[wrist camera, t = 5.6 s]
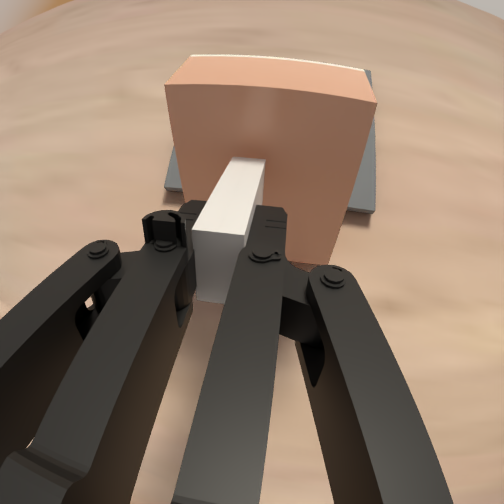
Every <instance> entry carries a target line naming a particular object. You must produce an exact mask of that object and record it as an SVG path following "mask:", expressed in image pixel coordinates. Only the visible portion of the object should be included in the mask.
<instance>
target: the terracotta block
mask: <svg viewBox="0 0 504 504" xmlns="http://www.w3.org/2000/svg"><path fill="white" fill-rule="evenodd" d="M164 86H165V92H166V99H167V105H168V111H169V118H170V124H171V130H172V135H173V141H174V147H175V152H176V158H177V163H178V169H179V174H180V179H181V185H182V190H183V195H184V200H185V203H187V202H188V201H190V200H201V201H208V199H209V197H210V195H211V194H212V192H213V190H214V188H215V187H216V185H217V183H218V181H219V180H220V178H221V176H222V174H223V173H224V171H225V169H226V168H227V166H228V164H229V162H230V161H231V159H232V157H245V158H257V159H266V161H265V175H264V188H263V202H262V205H264V206H273V207H282V208H283V209H284V210H285V212H286V213H287V214H288V217H287V231H286V246H285V256H286V258H287V260H288V261H293V262H301V263H310V264H318V265H328V263H329V260H330V257H331V254H332V251H333V248H334V246H335V243H336V240H337V237H338V234H339V231H340V228H341V225H342V222H343V219H344V216H345V213H346V210H347V207H348V203H349V200H350V197H351V194H352V191H353V188H354V184H355V181H356V178H357V174H358V171H359V168H360V164H361V161H362V157H363V154H364V151H365V147H366V143H367V140H368V136H369V133H370V129H371V125H372V121H373V118H374V114H375V110H376V106H377V101H376V98H375V96H374V93H373V91H372V88H371V86H370V83H369V81H368V78H367V76H366V74H365V71H364V70H363V69H358V68H353V67H347V66H342V65H336V64H329V63H323V62H316V61H308V60H300V59H290V58H280V57H267V56H250V55H191V56H190V57H189V58H188V59H187V60H186V61H185V62H184V63H183V64H182V65H181V67H180V68H179V69H178V70H177V71H176V72H175V73H174V74H173V75H172V76H171V78H170V79H169V80H168V81H167V82H166V83H165V84H164Z"/></svg>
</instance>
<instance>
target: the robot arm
mask: <svg viewBox="0 0 504 504" xmlns="http://www.w3.org/2000/svg"><path fill="white" fill-rule="evenodd" d="M265 161H266V159H257V158H245V157H232V159H231V161H230V162H229V164H228V166H227V168H226V169H225V171H224V173H223V174H222V176H221V178H220V180H219V181H218V183H217V185H216V187H215V188H214V190H213V192H212V194H211V195H210V197H209V199H208V201H201V200H190V201H188V202H187V203H185V204H183V205H182V206H181V208H180V209H179V211H173V210H161V211H156V212H152V213H150V214H148V215H146V216H145V217H144V218H143V219H142V223H143V230H144V237H145V244H144V246H143V247H142V249H141V250H140V251H133V252H122V253H120V250H119V247H118V245H117V243H115V242H113V241H110V240H97V241H95V242H92V243H90V244H88V245H86V246H85V247H83V248H82V249H81V250H80V251H78V252H77V253H76V254H75V255H73V256H72V257H71V258H70V259H68V260H67V261H66V262H65V263H64V264H62V265H61V266H60V267H59V268H58V269H56V270H55V271H54V272H53V273H52V274H50V275H49V276H48V277H47V278H46V279H45V280H43V281H42V282H41V283H40V284H39V285H38V286H37V287H35V288H34V289H33V290H32V291H31V292H30V293H29V294H28V295H26V296H25V297H24V298H23V299H22V300H21V301H20V302H19V303H18V304H17V305H15V306H14V307H13V308H12V309H11V310H10V311H9V312H8V313H7V314H6V315H5V316H4V317H3V318H2V319H1V320H0V504H130V500H131V496H132V493H133V490H134V486H135V483H136V480H137V476H138V473H139V470H140V466H141V463H142V460H143V457H144V453H145V450H146V447H147V444H148V441H149V438H150V435H151V431H152V428H153V425H154V422H155V419H156V416H157V413H158V410H159V407H160V404H161V401H162V398H163V395H164V392H165V389H166V386H167V383H168V380H169V377H170V374H171V371H172V368H173V365H174V362H175V359H176V357H177V354H178V351H179V348H180V345H181V342H182V339H183V337H184V334H185V331H186V328H187V325H188V322H189V320H190V317H191V314H192V310H193V303H192V297H193V294H194V292H195V289H196V298H197V300H199V301H206V302H213V303H220V304H225V305H224V308H223V312H222V315H221V319H220V323H219V326H218V330H217V334H216V337H215V341H214V344H213V348H212V352H211V356H210V359H209V363H208V367H207V370H206V374H205V378H204V381H203V385H202V389H201V393H200V396H199V400H198V404H197V408H196V411H195V415H194V419H193V423H192V426H191V430H190V434H189V438H188V442H187V445H186V449H185V453H184V457H183V461H182V465H181V468H180V472H179V476H178V480H177V484H176V488H175V492H174V495H173V499H172V502H171V504H259V500H260V493H261V486H262V478H263V471H264V463H265V456H266V448H267V440H268V432H269V423H270V415H271V406H272V397H273V388H274V379H275V369H276V360H277V350H278V339H279V334H280V335H283V336H285V337H288V338H290V339H293V340H295V346H296V350H297V353H298V357H299V361H300V365H301V369H302V373H303V377H304V381H305V385H306V389H307V393H308V397H309V401H310V405H311V409H312V413H313V417H314V421H315V425H316V429H317V433H318V437H319V441H320V445H321V449H322V454H323V458H324V462H325V466H326V470H327V475H328V479H329V483H330V487H331V491H332V496H333V500H334V504H453V501H452V498H451V495H450V492H449V489H448V486H447V483H446V480H445V477H444V475H443V472H442V469H441V466H440V464H439V461H438V458H437V456H436V453H435V450H434V448H433V445H432V443H431V440H430V438H429V435H428V433H427V430H426V428H425V425H424V423H423V420H422V418H421V415H420V413H419V411H418V408H417V406H416V404H415V401H414V399H413V397H412V394H411V392H410V390H409V387H408V385H407V383H406V381H405V378H404V376H403V374H402V372H401V370H400V367H399V365H398V363H397V361H396V359H395V357H394V355H393V352H392V350H391V348H390V346H389V344H388V342H387V340H386V338H385V336H384V334H383V332H382V330H381V328H380V326H379V324H378V321H377V319H376V317H375V315H374V314H373V312H372V310H371V308H370V306H369V304H368V302H367V300H366V298H365V296H364V294H363V292H362V290H361V288H360V286H359V284H358V283H357V281H356V279H355V277H354V276H353V275H352V274H351V273H350V272H349V271H347V270H346V269H344V268H341V267H338V266H335V265H321V266H317V267H315V268H314V269H312V270H311V272H310V273H309V272H306V271H303V270H301V269H298V268H296V267H295V266H293V265H292V264H291V263H290V262H289V261H288V260H287V258H286V256H285V246H286V231H287V217H288V214H287V213H286V212H285V210H284V209H283V208H282V207H273V206H264V205H262V202H263V188H264V175H265ZM90 296H91V298H92V301H93V304H92V305H91V306H90V307H88V308H87V307H86V305H85V301H86V300H87V299H88V298H89V297H90ZM33 438H34V439H33ZM32 439H33V441H32ZM31 441H32V443H31V445H30V446H29V447H28V448H26V447H27V446H28V445H29V443H30V442H31Z"/></svg>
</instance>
